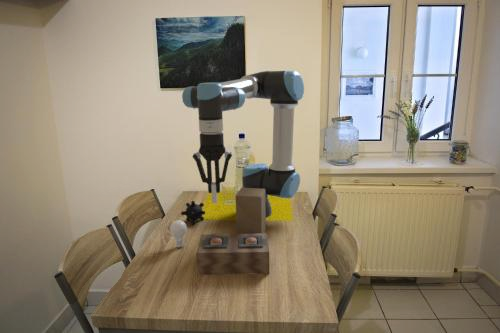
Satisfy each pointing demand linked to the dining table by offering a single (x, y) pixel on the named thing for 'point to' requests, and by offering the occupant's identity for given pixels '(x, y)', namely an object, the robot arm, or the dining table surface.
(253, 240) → the peg
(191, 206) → the toy ball
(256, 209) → the wooden block
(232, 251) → the socket block
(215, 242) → the peg
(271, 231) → the dining table surface
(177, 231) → the lightbulb
